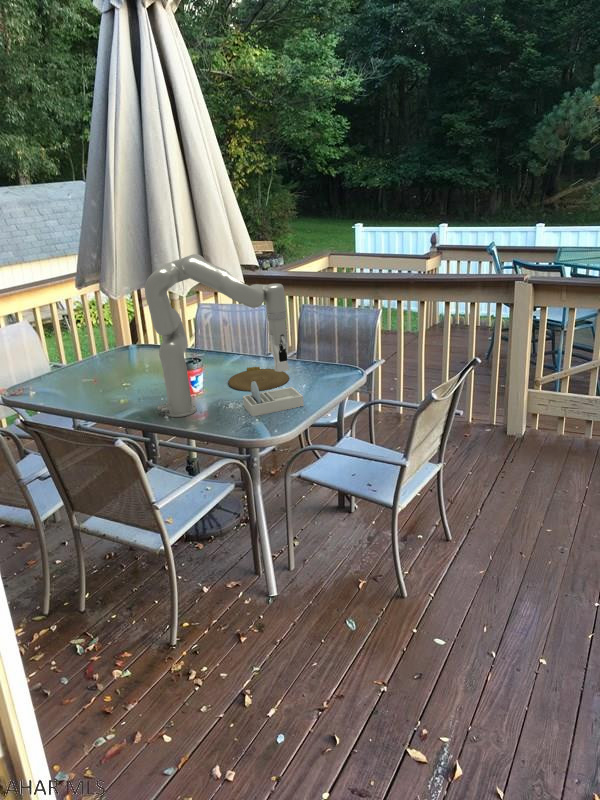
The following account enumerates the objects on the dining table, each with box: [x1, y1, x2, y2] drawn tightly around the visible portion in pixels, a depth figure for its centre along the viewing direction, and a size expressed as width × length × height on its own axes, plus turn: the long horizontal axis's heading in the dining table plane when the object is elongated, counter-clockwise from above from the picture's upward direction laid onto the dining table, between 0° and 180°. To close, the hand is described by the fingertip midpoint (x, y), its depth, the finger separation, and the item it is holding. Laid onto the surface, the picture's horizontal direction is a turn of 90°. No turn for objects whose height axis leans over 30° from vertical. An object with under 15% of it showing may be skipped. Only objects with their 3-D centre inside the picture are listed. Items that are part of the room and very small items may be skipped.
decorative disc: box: [227, 366, 290, 393], centre depth 291 cm, size 29×3×30 cm
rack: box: [242, 381, 305, 417], centre depth 256 cm, size 22×13×12 cm, turn 110°
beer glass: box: [269, 334, 290, 372], centre depth 251 cm, size 7×7×15 cm
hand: (280, 358), depth 252 cm, fingers closed on beer glass, 6 cm apart
